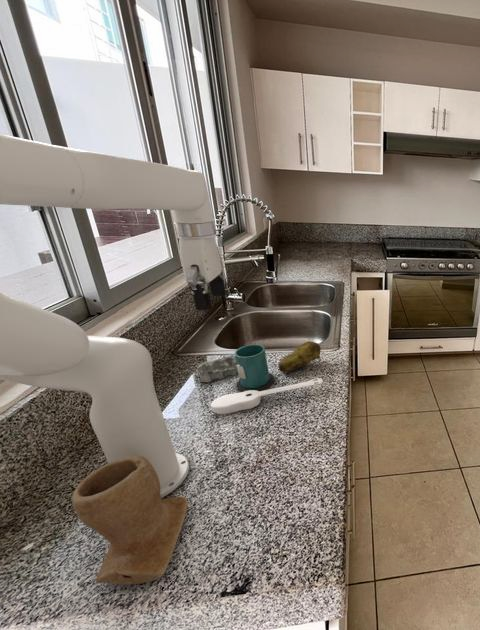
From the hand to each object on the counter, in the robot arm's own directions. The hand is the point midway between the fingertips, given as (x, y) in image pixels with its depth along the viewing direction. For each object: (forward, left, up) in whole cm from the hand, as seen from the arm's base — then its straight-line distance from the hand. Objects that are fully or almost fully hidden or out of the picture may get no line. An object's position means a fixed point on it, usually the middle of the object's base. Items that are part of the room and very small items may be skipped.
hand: (212, 302), depth 83 cm
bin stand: (+7, -4, -28) cm, 29 cm away
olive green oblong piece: (+14, -16, -28) cm, 36 cm away
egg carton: (+14, +8, -28) cm, 33 cm away
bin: (+7, -4, -28) cm, 29 cm away
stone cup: (-40, +3, -28) cm, 49 cm away
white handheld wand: (-2, -10, -28) cm, 30 cm away
